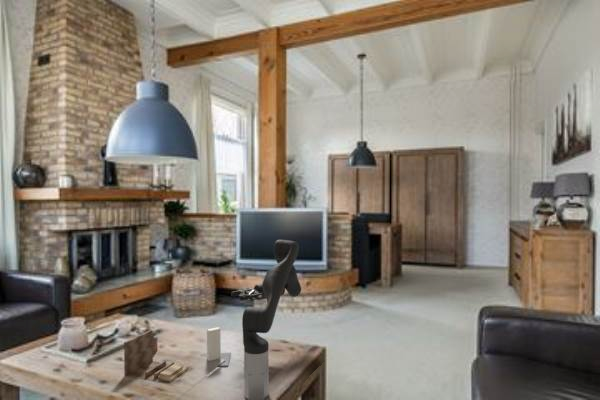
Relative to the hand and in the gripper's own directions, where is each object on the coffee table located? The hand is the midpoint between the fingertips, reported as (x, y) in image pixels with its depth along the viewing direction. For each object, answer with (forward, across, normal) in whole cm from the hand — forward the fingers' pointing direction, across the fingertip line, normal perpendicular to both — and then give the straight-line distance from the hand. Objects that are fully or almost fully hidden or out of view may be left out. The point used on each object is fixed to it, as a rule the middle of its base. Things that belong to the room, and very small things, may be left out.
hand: (235, 296), depth 191 cm
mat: (+11, 0, +28) cm, 30 cm away
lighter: (+33, -26, +28) cm, 50 cm away
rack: (+35, 0, +28) cm, 45 cm away
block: (+11, 0, +27) cm, 30 cm away
